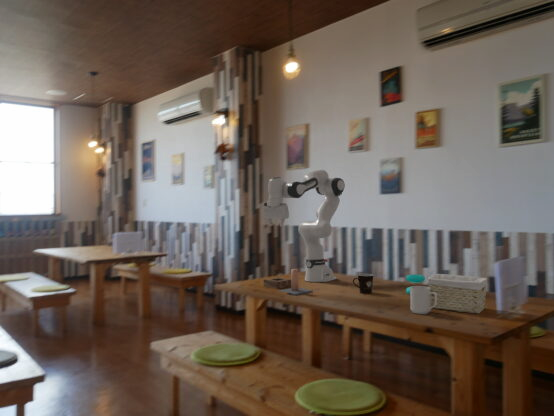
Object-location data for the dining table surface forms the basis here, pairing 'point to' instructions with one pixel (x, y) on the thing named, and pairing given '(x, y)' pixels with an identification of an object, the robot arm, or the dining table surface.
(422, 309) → the mug
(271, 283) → the holder block
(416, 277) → the donuts
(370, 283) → the coffee mug
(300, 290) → the slate mat
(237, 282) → the dining table surface
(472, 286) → the storage basket
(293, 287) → the dowel pin
